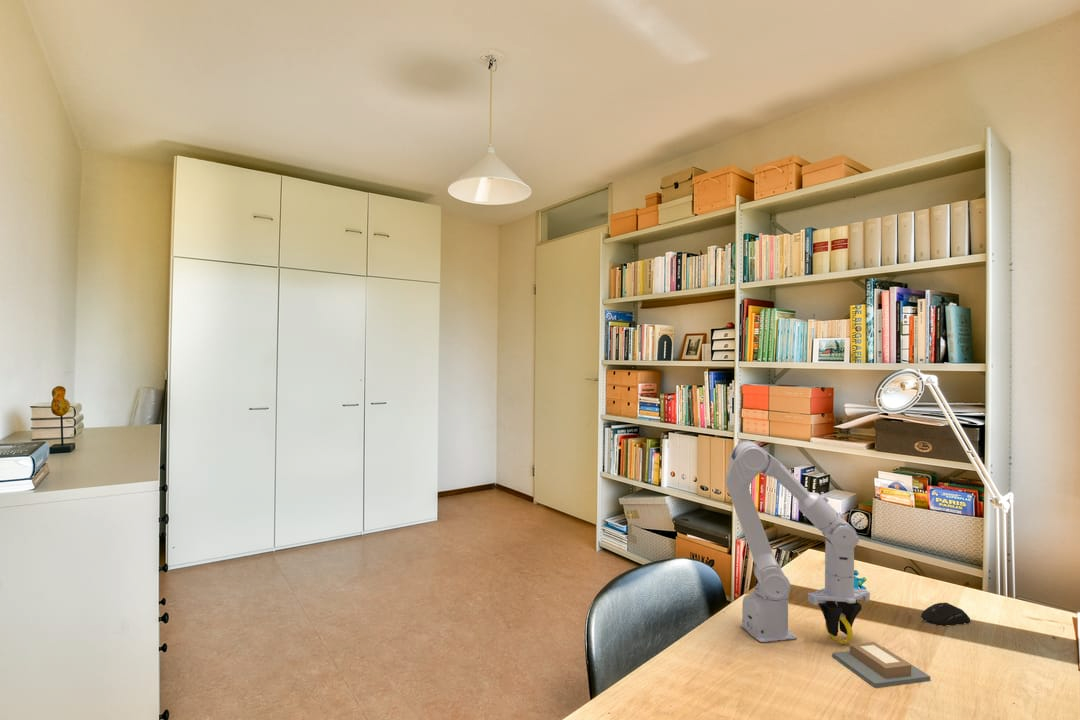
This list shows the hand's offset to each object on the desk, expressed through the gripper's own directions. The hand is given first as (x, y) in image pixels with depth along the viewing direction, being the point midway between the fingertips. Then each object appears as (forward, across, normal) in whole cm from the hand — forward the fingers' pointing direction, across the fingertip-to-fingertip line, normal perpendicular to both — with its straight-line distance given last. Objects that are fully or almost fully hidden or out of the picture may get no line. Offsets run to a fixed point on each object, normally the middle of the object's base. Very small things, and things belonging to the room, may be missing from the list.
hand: (838, 633), depth 119 cm
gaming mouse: (+2, +33, +4) cm, 33 cm away
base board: (+2, 0, -11) cm, 11 cm away
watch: (+2, 0, 0) cm, 2 cm away
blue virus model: (+2, +22, +21) cm, 31 cm away
